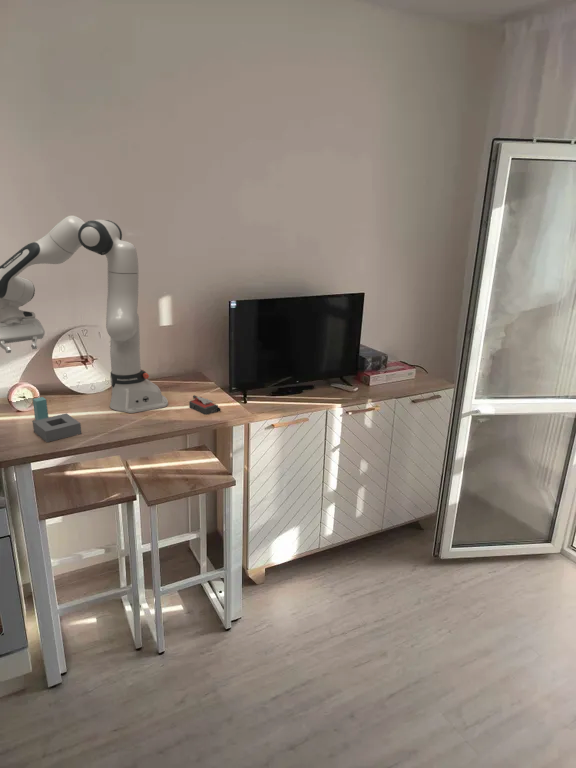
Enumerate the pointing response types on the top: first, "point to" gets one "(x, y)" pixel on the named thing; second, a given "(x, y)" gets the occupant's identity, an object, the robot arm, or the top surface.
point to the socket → (56, 427)
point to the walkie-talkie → (203, 405)
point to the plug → (40, 408)
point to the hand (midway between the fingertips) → (22, 350)
